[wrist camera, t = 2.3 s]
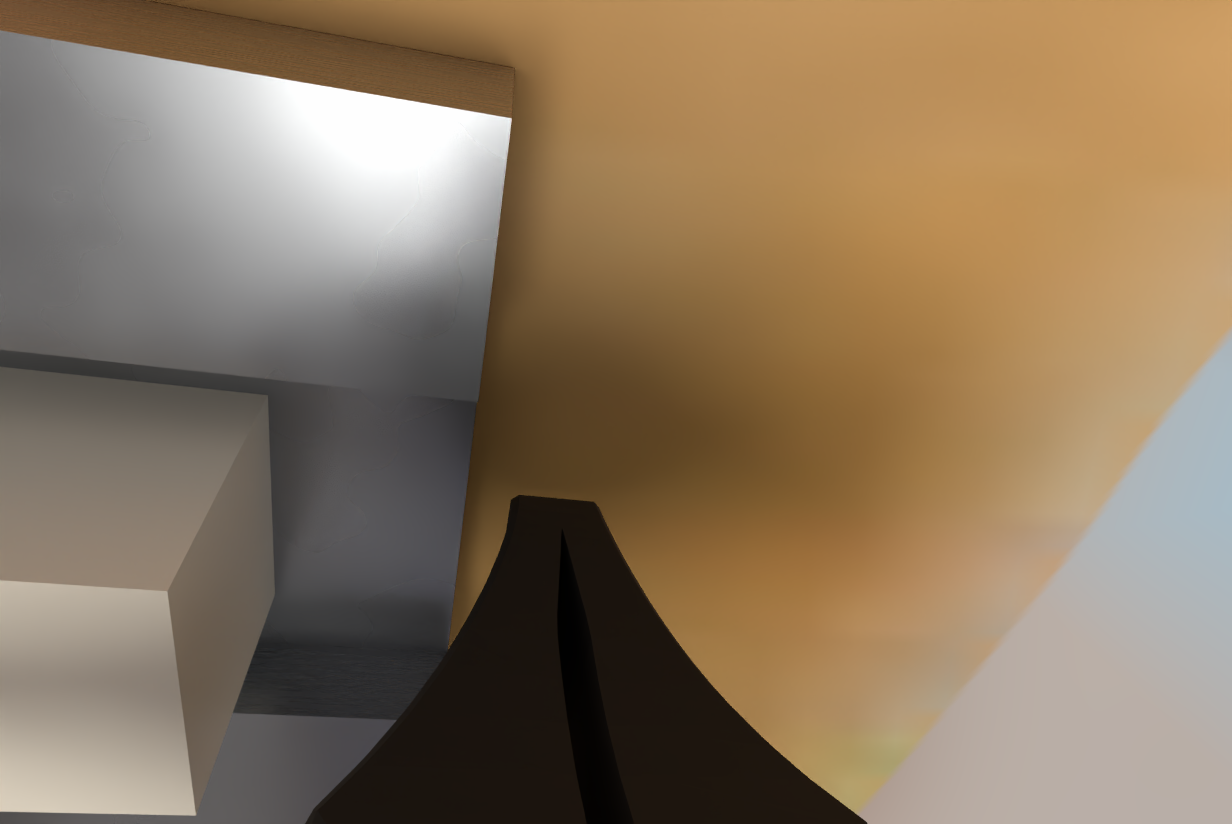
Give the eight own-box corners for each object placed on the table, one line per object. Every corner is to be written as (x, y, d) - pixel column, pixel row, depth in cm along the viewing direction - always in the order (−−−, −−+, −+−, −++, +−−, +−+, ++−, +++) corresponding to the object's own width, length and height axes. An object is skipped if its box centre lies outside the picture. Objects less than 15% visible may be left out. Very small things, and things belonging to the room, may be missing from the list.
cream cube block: (275, 594, 14) (196, 815, 11) (15, 577, 13) (-157, 807, 10) (267, 395, 12) (166, 590, 9) (-39, 362, 11) (-279, 561, 8)
